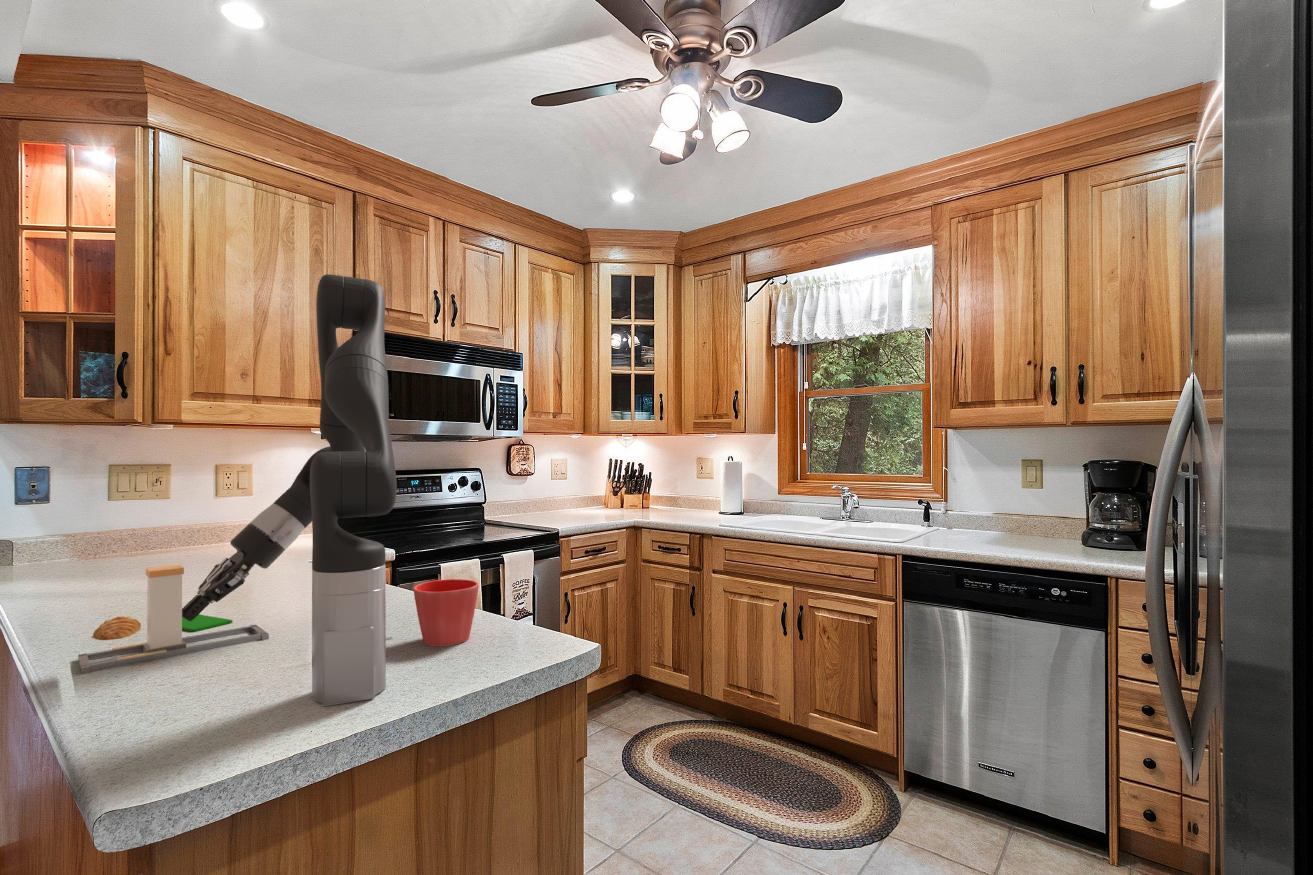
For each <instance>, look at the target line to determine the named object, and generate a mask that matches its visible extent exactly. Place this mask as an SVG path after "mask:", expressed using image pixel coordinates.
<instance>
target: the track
mask: <svg viewBox="0 0 1313 875" xmlns="http://www.w3.org/2000/svg"><path fill="white" fill-rule="evenodd" d="M245 633H246V634H247V633H253V634H251V635H245V636H244V635H243V636H239V637H233V638H228V639H222V640H217V641H211V642H206V643H201V644H200V643H199V644H195V645H190V646H189V645H188V646H186V647H183V648H177V649H172V650H166V649H164V650H159V651H153V652H148V653H143V644H146V643H147V641H146V642H142V643H134V644H129V645H125V646H124V645H123V646H118V647H113V648H111V649H108V650H102V651H97V652H90V653H81V654H80V653H79V654H78V655H77V660H78V665H79V669H80V674H81V675H83V674H84V675H85V674H90V673H91V672H96V671H100V670H106V669H111V668H116V667H123V666H126V665H133V664H140V663H144V662H149V661H156V660H159V659H165V658H170V657H175V656H181V655H186V654H192V653H193V654H194V653H196V652H203V651H209V650H214V649H219V648H225V647H229V646H235V645H236V646H237V645H241V644H245V643H250V642H251V643H252V642H257V641H264V640H265V641H266V640H269V639H270V634H269V633H268V632H267V631H265V630H264V629H263V628H262V627H261V626H259V625H257V624H249V626H243V627H237V628H231V629H226V630H225V629H224V630H220V631H212V632H208V633H202V634H196V635H195V634H194V635H191V636H189V635H188V636H182V639H183V640H184V642H185V643H186V644H189V643H190V644H191V643H196V642H202V641H206V640H213V639H218V638H225V637H230V636H235V635H236V636H237V635H242V634H245ZM140 652H142V653H140ZM134 653H136V654H134ZM129 654H130V655H129ZM131 654H132V655H131ZM122 655H123V656H122ZM125 655H126V656H125ZM116 656H120V657H116ZM110 657H116V658H115V659H111V660H106V661H100V662H95V663H90V661H94V660H99V659H100V660H101V659H105V658H110Z"/></svg>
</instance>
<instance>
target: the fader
mask: <svg viewBox="0 0 1313 875" xmlns="http://www.w3.org/2000/svg"><path fill="white" fill-rule="evenodd" d="M184 574H185V567H184V566H182V565H181V564H172V565H164V566H163V565H162V566H156V567H155V566H154V567H146V568H145V575H146V576H147V590H146V592H147V594H146V595H147V606H146V608H147V610H146V613H147V615H146V616H147V618H146V621H147V623H146V624H147V625H146V626H147V628H146V636H147V639H146V642H147V643H146V642H145V643H146V644H143V651H142V653H148V652H153V651H159V650H164V649H166V650H172V649H177V648H183V647H187V643H185V642H184V640H183V639H182V638H183V630H182V608H183V575H184Z"/></svg>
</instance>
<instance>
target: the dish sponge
mask: <svg viewBox="0 0 1313 875" xmlns="http://www.w3.org/2000/svg"><path fill="white" fill-rule="evenodd" d="M231 623H233V619H229V618H223V617H218V616H212V615H205V614H201V613H200V614H199V615H198V616H197V617H195V618H194V619H193V620H192V621H188V620H186V619H185V618H183V617H182V631H186V632H192V633H194V632H198V631H203V630H207V629H211V628H216V627H220V626H224V625H227V624H228V625H229V624H231Z"/></svg>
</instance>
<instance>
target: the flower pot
mask: <svg viewBox="0 0 1313 875" xmlns="http://www.w3.org/2000/svg"><path fill="white" fill-rule="evenodd" d="M479 586H480V584H479V582H478V581H475V580H472V579H461V578H460V579H459V578H458V579H457V578H456V579H455V578H453V579H452V578H451V579H449V578H448V579H445V578H444V579H436V580H430V581H425V582H421V583H418V584H416V585H415V586H413V595H414V601H415V606H416V612H417V619H418V623H419V628H420V633H421V637H422V640H423V643H424V645H428V646H431V647H448V646H453V645H458V644H461V643H464V642H467V641H468V640H469V638H470V637H471V636H470V635H471V631H472V626H473V620H474V616H475V612H476V611H475V610H476V606H477V600H478V593H479V588H480V587H479Z"/></svg>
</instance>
